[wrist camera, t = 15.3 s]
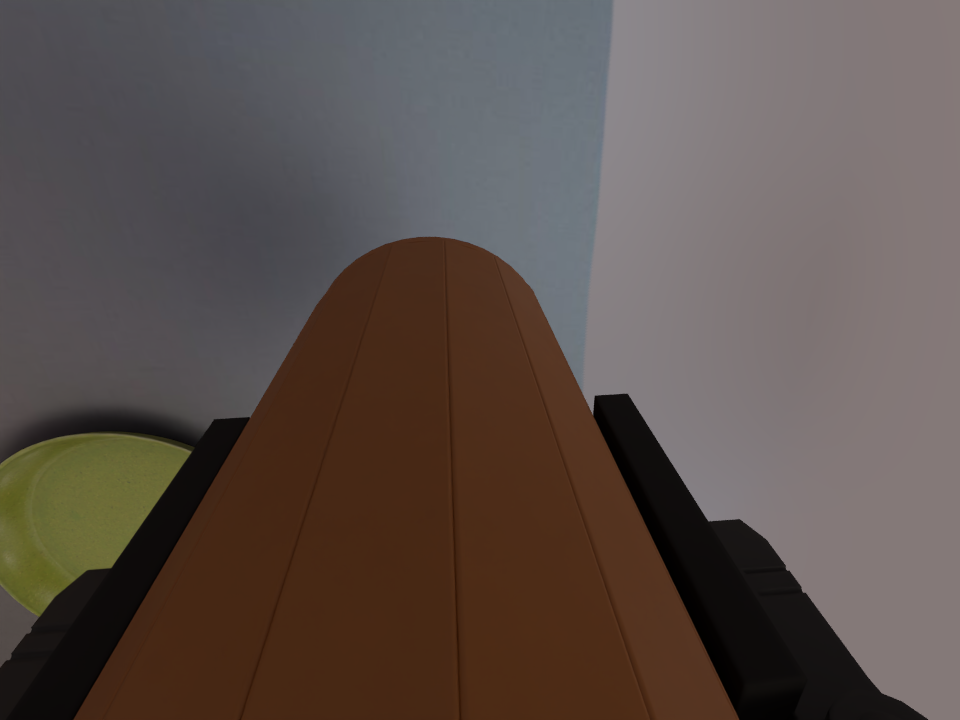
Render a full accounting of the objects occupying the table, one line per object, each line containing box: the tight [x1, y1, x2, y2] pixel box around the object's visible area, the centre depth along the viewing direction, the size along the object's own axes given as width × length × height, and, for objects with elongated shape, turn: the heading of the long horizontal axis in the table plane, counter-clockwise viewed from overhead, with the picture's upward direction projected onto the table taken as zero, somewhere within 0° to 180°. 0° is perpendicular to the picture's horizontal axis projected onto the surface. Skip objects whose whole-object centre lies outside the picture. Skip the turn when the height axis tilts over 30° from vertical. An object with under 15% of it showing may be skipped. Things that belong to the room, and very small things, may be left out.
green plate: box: [0, 431, 195, 617], centre depth 38 cm, size 21×21×3 cm
